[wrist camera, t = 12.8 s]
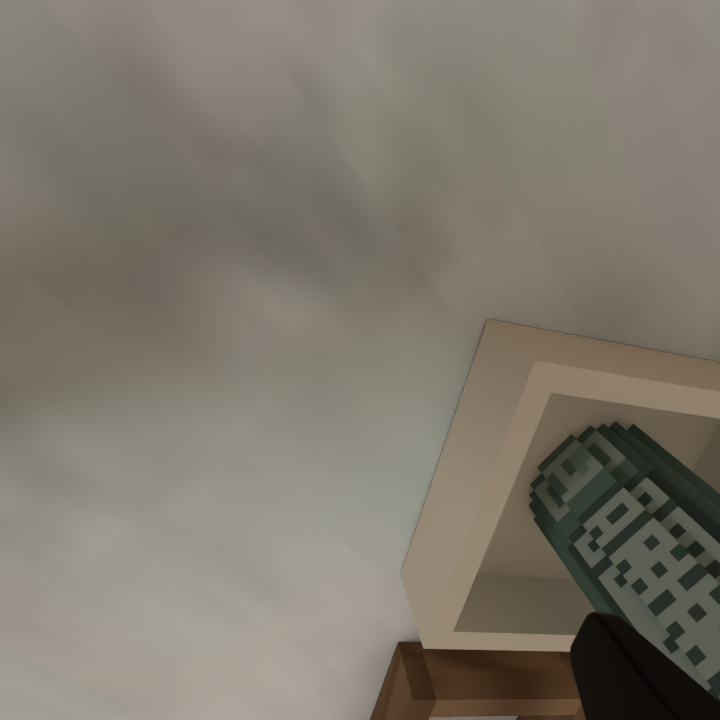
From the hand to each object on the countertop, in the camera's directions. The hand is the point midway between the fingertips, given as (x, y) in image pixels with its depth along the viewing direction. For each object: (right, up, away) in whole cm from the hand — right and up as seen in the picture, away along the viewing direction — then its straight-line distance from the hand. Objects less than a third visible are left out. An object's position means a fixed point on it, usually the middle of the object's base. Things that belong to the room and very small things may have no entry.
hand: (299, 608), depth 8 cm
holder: (+7, -16, +23) cm, 29 cm away
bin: (+11, -2, +17) cm, 20 cm away
